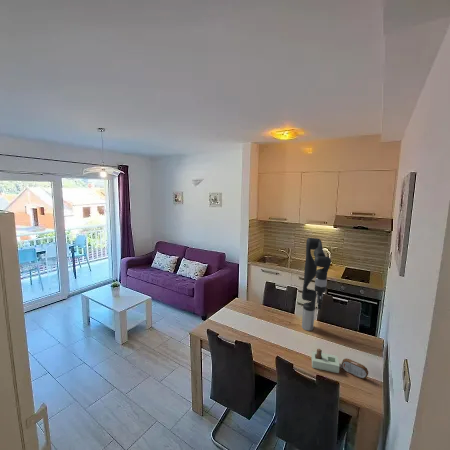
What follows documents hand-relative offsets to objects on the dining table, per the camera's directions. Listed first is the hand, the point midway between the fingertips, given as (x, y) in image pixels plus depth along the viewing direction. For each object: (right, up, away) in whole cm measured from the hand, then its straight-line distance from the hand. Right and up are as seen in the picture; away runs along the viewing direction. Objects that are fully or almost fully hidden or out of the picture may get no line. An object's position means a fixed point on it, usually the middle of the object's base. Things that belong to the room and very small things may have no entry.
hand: (318, 306), depth 176 cm
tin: (+15, -37, -19) cm, 44 cm away
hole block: (0, -35, -11) cm, 37 cm away
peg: (-4, -35, -10) cm, 37 cm away
